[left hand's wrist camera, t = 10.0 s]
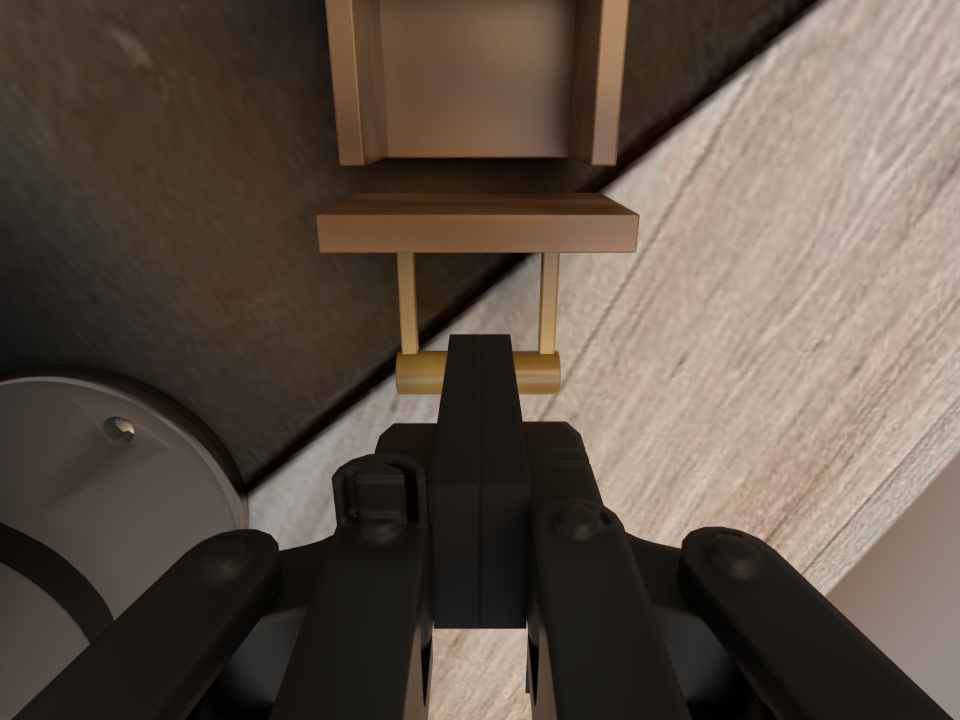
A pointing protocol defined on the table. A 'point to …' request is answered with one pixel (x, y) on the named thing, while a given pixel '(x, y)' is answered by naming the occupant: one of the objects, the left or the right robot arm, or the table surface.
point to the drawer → (477, 142)
